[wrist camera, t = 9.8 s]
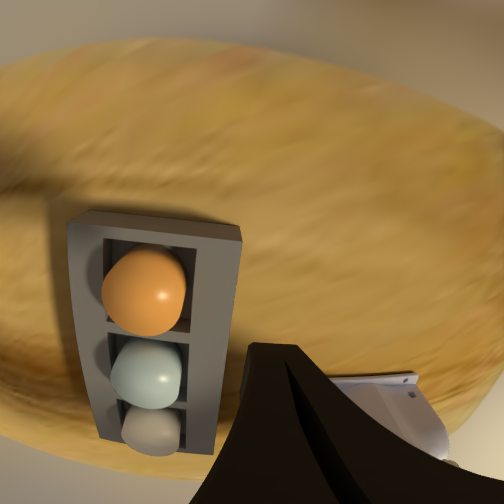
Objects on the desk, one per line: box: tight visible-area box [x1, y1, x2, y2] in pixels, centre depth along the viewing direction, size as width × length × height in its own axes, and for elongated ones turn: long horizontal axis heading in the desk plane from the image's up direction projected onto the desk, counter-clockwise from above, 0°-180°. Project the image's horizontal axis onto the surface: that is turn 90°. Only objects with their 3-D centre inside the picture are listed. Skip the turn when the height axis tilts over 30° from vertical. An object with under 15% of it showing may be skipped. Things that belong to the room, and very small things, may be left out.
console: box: [67, 210, 243, 455], centre depth 18 cm, size 9×17×3 cm, turn 171°
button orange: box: [102, 243, 188, 336], centre depth 15 cm, size 4×4×3 cm
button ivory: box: [121, 403, 182, 456], centre depth 18 cm, size 4×4×3 cm
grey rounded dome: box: [110, 336, 183, 409], centre depth 17 cm, size 4×4×3 cm
